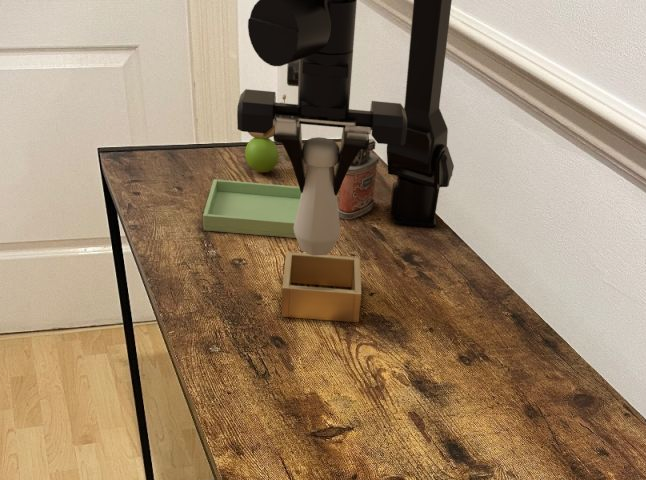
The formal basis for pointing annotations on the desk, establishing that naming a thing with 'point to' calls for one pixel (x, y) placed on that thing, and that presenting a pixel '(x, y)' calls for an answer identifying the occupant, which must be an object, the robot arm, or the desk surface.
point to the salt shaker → (318, 199)
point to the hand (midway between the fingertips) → (319, 193)
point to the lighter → (359, 184)
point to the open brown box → (317, 299)
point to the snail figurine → (262, 151)
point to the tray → (251, 208)
